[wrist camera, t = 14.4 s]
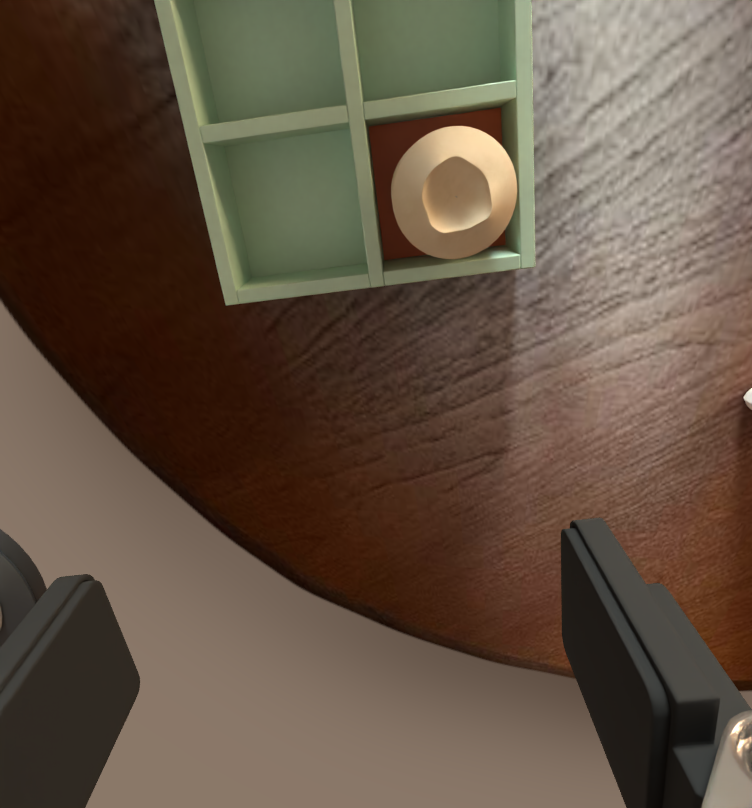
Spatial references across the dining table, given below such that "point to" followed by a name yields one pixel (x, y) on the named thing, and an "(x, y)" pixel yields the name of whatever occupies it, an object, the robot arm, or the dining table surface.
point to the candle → (454, 192)
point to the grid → (341, 130)
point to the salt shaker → (748, 398)
